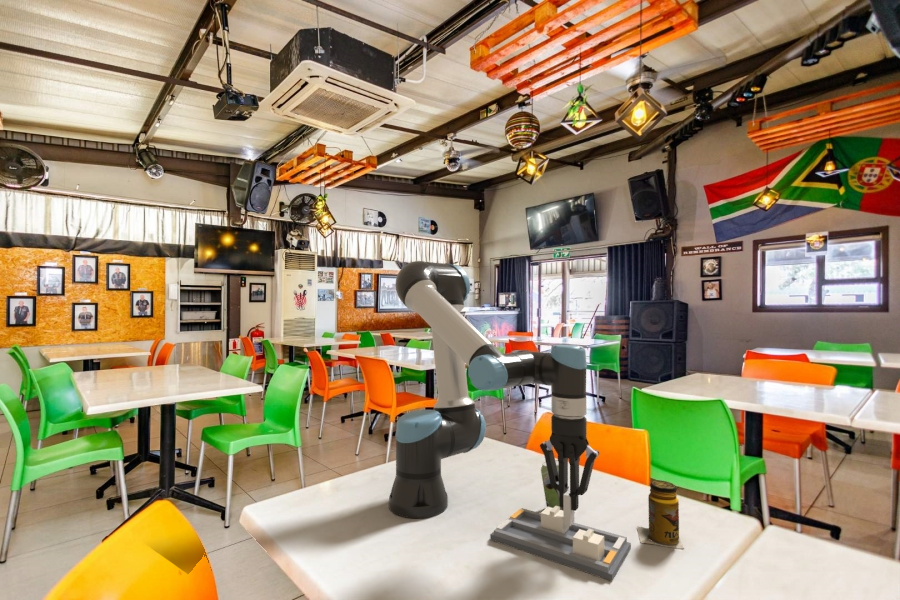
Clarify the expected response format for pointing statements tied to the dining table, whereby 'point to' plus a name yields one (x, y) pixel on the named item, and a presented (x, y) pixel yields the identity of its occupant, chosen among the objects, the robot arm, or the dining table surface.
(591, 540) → the tab
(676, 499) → the condiment
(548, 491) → the beverage can
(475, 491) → the dining table surface
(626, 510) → the dining table surface
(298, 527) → the dining table surface
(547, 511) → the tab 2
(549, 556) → the switch bank
